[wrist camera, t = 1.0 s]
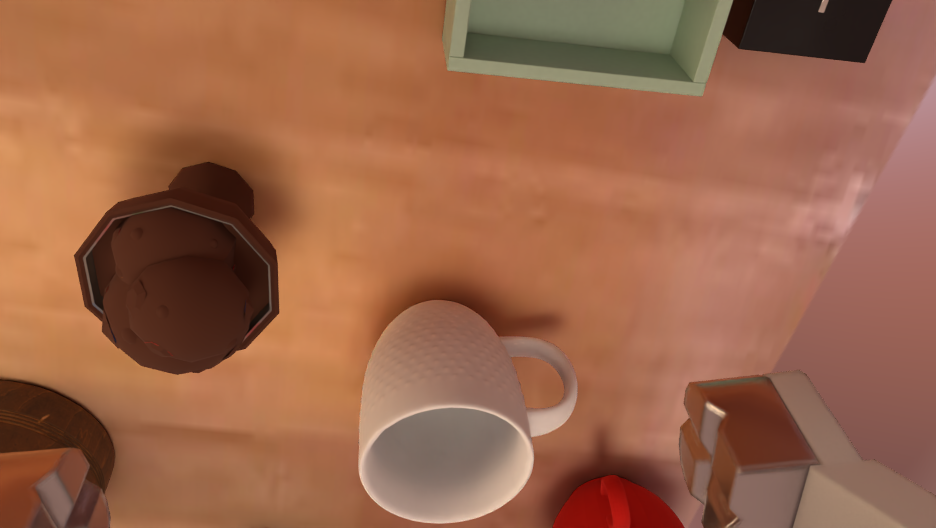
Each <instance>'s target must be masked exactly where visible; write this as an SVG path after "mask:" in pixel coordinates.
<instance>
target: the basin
mask: <svg viewBox="0 0 936 528" xmlns="http://www.w3.org/2000/svg"><path fill="white" fill-rule="evenodd" d="M732 2H733V0H447V1H446V10H445V18H444V26H443V35H442V42H443V48H444V53H445V59H446V65H447V70H448V71H457V72H467V73H477V74H487V75H496V76H506V77H516V78H526V79H535V80H545V81H555V82H565V83H574V84H584V85H594V86H604V87H613V88H623V89H633V90H642V91H652V92H662V93H672V94H681V95H691V96H702V95H703V92H704V89H705V86H706V83H707V80H708V77H709V74H710V71H711V68H712V65H713V61H714V58H715V55H716V52H717V49H718V46H719V43H720V40H721V37H722V33H723V30H724V27H725V24H726V21H727V18H728V15H729V12H730V9H731V5H732Z"/></svg>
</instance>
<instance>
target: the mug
mask: <svg viewBox="0 0 936 528" xmlns="http://www.w3.org/2000/svg"><path fill="white" fill-rule="evenodd" d="M511 357H533V358H538V359H541V360H543V361H546V362H547V363H549V364H550V365H552V366H553V367H554V368H555V369H556V370H557V372H558V373H559V375H560V377H561V379H562V381H563V383H564V396H563V398H562V400H561V401H560V402H559V403H558V404H557V405H555V406H552V407H548V408H526V407H525V403H524V396H523V394H522V391H521V386H520V383H519V381H518V378H517V373H516V370H515V368H514V366H513V363H512V359H511ZM577 392H578V386H577V378H576V374H575V371H574V368H573V366H572V364H571V362H570V360H569V359H568V357H567V356H566V355H565V353H564V352H563V351H562V350H561V349H559V348H558V347H557V346H555V345H554V344H552V343H550V342H548V341H545V340H541V339H538V338H532V337H524V336H503V337H499V336H498V335H497V334H496V333H495V331H494V329H493V328H492V327H491V326H490V325H489V324H488V322H487V321H486V320H484V319H483V318H482V317H481V316H480V315H479V314H477V313H476V312H474V311H473V310H471V309H470V308H468V307H466V306H464V305H462V304H459V303H456V302H453V301H447V300H430V301H425V302H421V303H418V304H416V305H413V306H411V307H409V308H408V309H406V310H405V311H403V312H402V313H401V314H399V315H398V316H397V317H396V318H395V319H394V320H393V321H392V322H391V323H390V324H389V325H388V326H387V328H386V329H385V330H384V331H383V333H382V335H381V337H380V338H379V340H378V341H377V343H376V346H375V348H374V349H373V351H372V355H371V358H370V359H369V361H368V366H367V370H366V372H365V379H364V383H363V387H362V398H361V410H360V424H359V442H358V443H359V475H360V479H361V482H362V484H363V486H364V488H365V490H366V492H367V493H368V494H369V496H370V497H371V498H372V499H373V500H374V501H375V502H376V503H377V504H378V505H379V506H381V507H382V508H384V509H385V510H387V511H389V512H391V513H393V514H395V515H397V516H399V517H402V518H405V519H409V520H413V521H418V522H425V523H453V522H462V521H467V520H471V519H474V518H478V517H481V516H484V515H486V514H488V513H491V512H493V511H495V510H496V509H498V508H500V507H502V506H503V505H505V504H506V503H507V502H509V501H510V500H511V499H512V498H514V497H515V496H516V495H517V494H518V493H519V492H520V491H521V490H522V488H523V487H524V486H525V484H526V483H527V481H528V479H529V477H530V475H531V472H532V469H533V464H534V451H533V444H532V439H531V437H535V436H540V435H544V434H547V433H549V432H551V431H553V430H555V429H557V428H559V427H560V426H561V425H563V424H564V423H565V422H566V421H567V419H568V418H569V417H570V415H571V414H572V412H573V410H574V407H575V404H576V400H577Z"/></svg>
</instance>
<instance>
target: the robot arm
mask: <svg viewBox="0 0 936 528" xmlns="http://www.w3.org/2000/svg"><path fill="white" fill-rule="evenodd" d="M684 406H685V408H686V410H687V413H688V415H689V417H690V418H689V419H688V420H687V421H686V422H685V423H684V424H683V425H682V426H681V427H680V438H679V451H680V461H681V467H682V471H683V475H684V478H685V481H686V484H687V486H688V489H689V492H690V494H691V495H692V496H693V497H694V498H696V499H697V500H698V501H700V502H701V503H703V504H704V511H703V516H702V524H703V527H704V528H936V495H934V494H932V493H931V492H929V491H927V490H926V489H924V488H922V487H921V486H919V485H917V484H916V483H914V482H912V481H910V480H909V479H907V478H905V477H903V476H902V475H900V474H898V473H897V472H895V471H894V470H892V469H890V468H888V467H887V466H885V465H883V464H882V463H880V462H878V461H876V460H875V459H874V460H863V459H862V457H861V456H860V455H859V453H858V452H857V450H856V448H855V447H854V445H853V444H852V442H851V441H850V440H849V438H848V436H847V435H846V433H845V432H844V430H843V429H842V427H841V426H840V424H839V423H838V421H837V420H836V418H835V417H834V415H833V414H832V412H831V411H830V409H829V408H828V406H827V405H826V403H825V402H824V400H823V399H822V397H821V396H820V394H819V393H818V391H817V390H816V388H815V387H814V385H813V384H812V382H811V381H810V379H809V378H808V376H807V375H806V374H805V373H803V372H802V371H800V370H795V371H786V372H778V373H768V374H763V375H751V376H743V377H734V378H725V379H716V380H708V381H699V382H690V383H689V385H688V387H687V388H686V391H685V398H684ZM89 468H90V465H89V463H88V461H87V459H86V458H85V456H84V454H83V452H82V451H81V449H77V448H60V449H47V450H35V451H22V452H10V453H0V528H110V512H109V507H108V502H107V499H106V497H105V495H104V493H103V491H102V489H101V488H100V487H98V486H96V485H95V484H93V483H91V482H90V481H88V480H86V479H85V478H86V475H87V473H88V470H89Z"/></svg>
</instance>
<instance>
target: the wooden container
mask: <svg viewBox="0 0 936 528" xmlns="http://www.w3.org/2000/svg"><path fill="white" fill-rule="evenodd" d="M60 448H77V449H81V451H82V452H83V454H84V456H85V458H86V459H87V461H88V463H89V465H90V468H89V470H88V473H87V475H86V478H85V479H86V480H88V481H90V482H91V483H93V484H95V485H96V486H98V487H100V488H101V489H102V491H103V493H104V494H105V491H106V488H107V485H108V483H109V480H110V477H111V474H112V470H113V467H114V451H113V446H112V443H111V441H110V438H109V436H108V434H107V433H106V431H105V429H104V428H103V427H102V426H101V425H100V423H99V422H98V421H97V420H96V419H95V418H94V417H93V416H91V415H90V414H89V413H88V412H87V411H85V410H84V409H83V408H82V407H80V406H79V405H77V404H75V403H73V402H72V401H70V400H68V399H66V398H65V397H63V396H60V395H58V394H56V393H54V392H51V391H49V390H46V389H43V388H40V387H36V386H32V385H28V384H23V383H18V382H12V381H0V453H10V452H22V451H35V450H47V449H60Z"/></svg>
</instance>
